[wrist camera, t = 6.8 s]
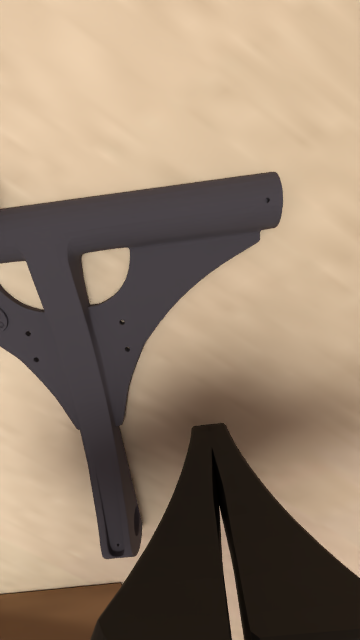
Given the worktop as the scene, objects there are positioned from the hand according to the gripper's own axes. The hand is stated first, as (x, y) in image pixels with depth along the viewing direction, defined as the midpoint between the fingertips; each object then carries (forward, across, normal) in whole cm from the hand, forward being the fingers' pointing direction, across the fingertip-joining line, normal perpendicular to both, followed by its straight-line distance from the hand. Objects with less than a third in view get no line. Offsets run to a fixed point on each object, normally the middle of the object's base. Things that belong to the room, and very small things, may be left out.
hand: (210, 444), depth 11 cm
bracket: (+2, +4, -2) cm, 5 cm away
